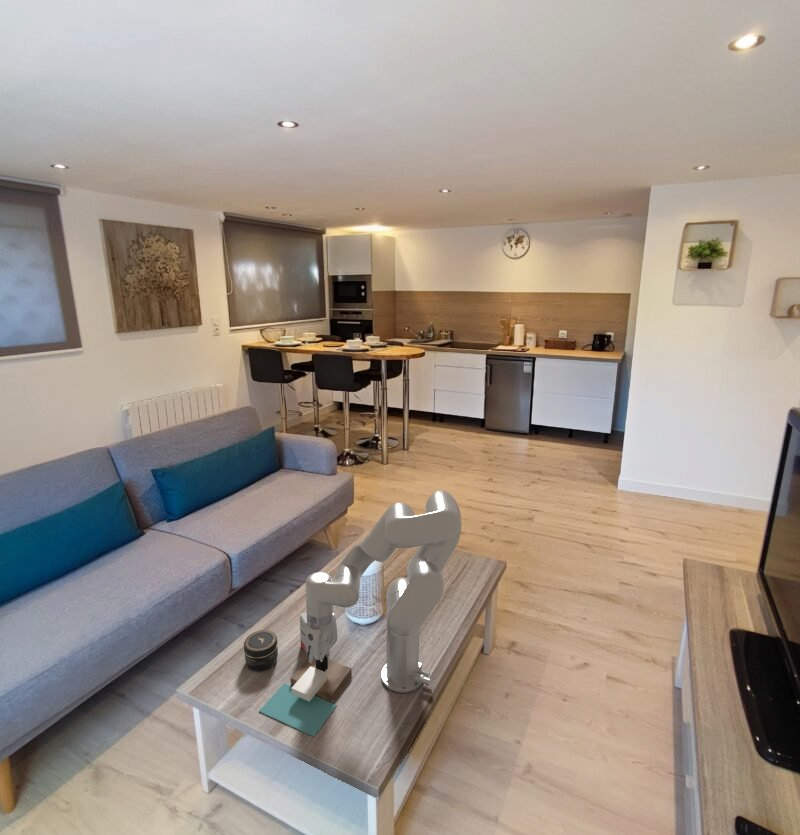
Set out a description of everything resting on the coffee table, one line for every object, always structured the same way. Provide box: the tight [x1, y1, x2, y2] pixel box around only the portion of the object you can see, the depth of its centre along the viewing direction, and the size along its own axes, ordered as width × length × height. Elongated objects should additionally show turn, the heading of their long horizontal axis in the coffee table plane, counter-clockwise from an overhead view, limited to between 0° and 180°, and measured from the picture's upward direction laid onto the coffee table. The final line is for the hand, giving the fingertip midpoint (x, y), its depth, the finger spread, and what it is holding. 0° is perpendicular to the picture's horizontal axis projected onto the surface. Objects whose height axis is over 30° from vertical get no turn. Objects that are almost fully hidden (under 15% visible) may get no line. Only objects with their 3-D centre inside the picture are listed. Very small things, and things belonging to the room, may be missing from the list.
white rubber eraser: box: [291, 666, 328, 702], centre depth 139 cm, size 6×9×2 cm, turn 154°
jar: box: [243, 629, 279, 672], centre depth 151 cm, size 10×10×8 cm
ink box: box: [299, 611, 307, 654], centre depth 158 cm, size 8×5×12 cm, turn 123°
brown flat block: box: [289, 657, 353, 703], centre depth 145 cm, size 14×11×2 cm
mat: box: [258, 683, 337, 738], centre depth 135 cm, size 18×11×1 cm, turn 65°
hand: (321, 668), depth 145 cm, fingers closed
